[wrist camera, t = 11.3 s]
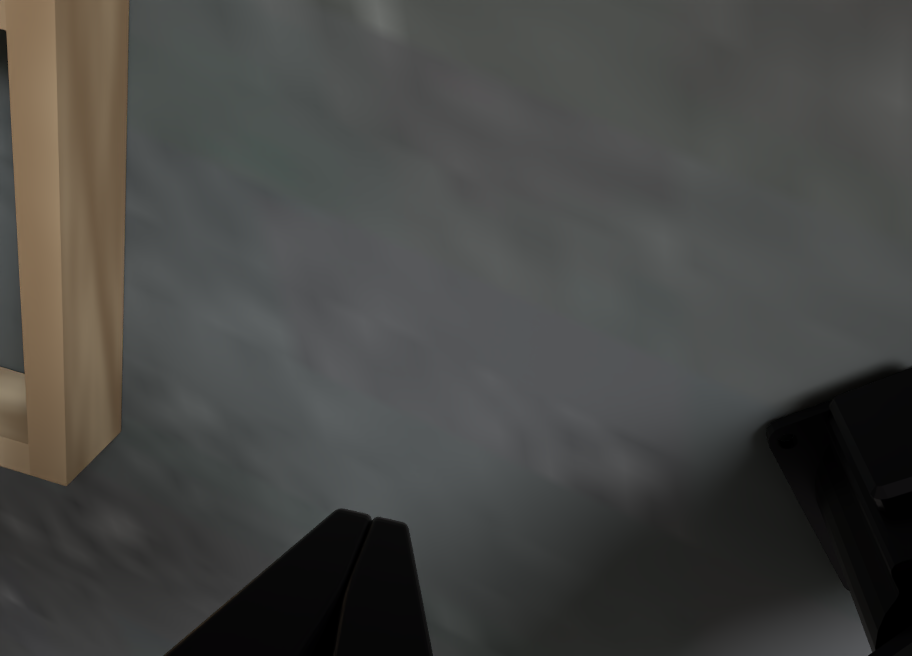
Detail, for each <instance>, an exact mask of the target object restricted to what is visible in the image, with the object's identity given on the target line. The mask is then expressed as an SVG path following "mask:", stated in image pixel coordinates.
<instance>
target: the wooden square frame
mask: <svg viewBox="0 0 912 656" xmlns="http://www.w3.org/2000/svg"><path fill="white" fill-rule="evenodd" d="M0 29H3V30H6V33H7V51H8V70H9V89H10V108H11V126H12V145H13V164H14V182H15V201H16V220H17V239H18V257H19V276H20V295H21V314H22V332H23V351H24V370H25V374H23V373H20V372H16V371H13V370H10V369H6V368H3V367H0V466H2V467H5V468H9V469H12V470H15V471H18V472H22V473H25V474H28V475H31V476H35V477H38V478H41V479H44V480H48V481H51V482H54V483H57V484H61V485H64V486H67V485H68V484H69V483H70V482H71V481H72V480H73V479H74V478H75V477H76V476H77V475H78V474H79V473H80V472H81V471H82V470H83V469H84V468H85V467H86V466H87V465H88V464H89V463H90V462H91V461H92V460H93V459H94V458H95V457H96V456H97V455H98V454H99V453H100V452H101V451H102V450H103V449H104V448H105V447H106V446H107V445H108V444H109V443H110V442H111V441H112V440H113V439H114V438H115V437H116V436H117V435H118V434H119V433H120V432H121V404H122V350H123V297H124V244H125V190H126V137H127V84H128V31H129V0H0Z"/></svg>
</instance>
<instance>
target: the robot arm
mask: <svg viewBox="0 0 912 656" xmlns="http://www.w3.org/2000/svg"><path fill="white" fill-rule="evenodd" d="M784 434H792V435H794V436H793V438H791V439H790V440H787V441H781V440H778V439H779V438H780V437H781V436H782V435H784ZM766 437H767V440H768V444H769V447H770V449H771V451H772V453H773V455H774V457H775V458H776V460H777V462H778V464H779V466H780V468H781V470H782V471H783V473H784V475H785V477H786V479H787V481H788V483H789V485H790V486H791V488H792V490H793V492H794V494H795V496H796V498H797V500H798V501H799V503H800V505H801V507H802V509H803V511H804V513H805V515H806V516H807V518H808V520H809V522H810V524H811V526H812V528H813V529H814V531H815V533H816V535H817V537H818V539H819V541H820V543H821V544H822V546H823V548H824V550H825V552H826V554H827V556H828V558H829V559H830V561H831V563H832V565H833V567H834V569H835V571H836V572H837V574H838V576H839V578H840V580H841V582H842V584H843V586H844V587H845V588H846V589H847V590H849V591H850V593H851V596H852V598H853V601H854V604H855V606H856V609H857V612H858V614H859V617H860V620H861V623H862V625H863V628H864V631H865V633H866V636H867V639H868V642H869V644H870V647H871V650H872V652H873V653H871V654H870V655H868V656H912V368H911V369H908V370H905V371H902V372H900V373H897V374H894V375H892V376H889V377H886V378H884V379H881V380H878V381H875V382H873V383H870V384H867V385H865V386H862V387H859V388H856V389H854V390H851V391H848V392H846V393H843V394H840V395H838V396H836V397H834V399H833V400H830V401H827V402H825V403H822V404H819V405H816V406H814V407H811V408H808V409H806V410H803V411H800V412H797V413H795V414H792V415H789V416H787V417H784V418H781V419H778V420H776V421H775V422H773V423H771V424H770V426H769V427H768V428H767V432H766ZM164 656H433V653H432V648H431V642H430V637H429V632H428V627H427V622H426V616H425V611H424V606H423V601H422V595H421V590H420V585H419V580H418V574H417V569H416V564H415V559H414V554H413V548H412V543H411V538H410V533H409V528H408V526H407V525H406V524H405V523H403V522H400V521H395V520H391V519H387V518H382V517H376V518H374V519H373V520H371V517H370V516H369V515H368V514H365V513H360V512H356V511H352V510H347V509H337V510H335V511H334V512H333V513H332V514H330V515H329V516H328V517H327V518H326V519H324V520H323V521H322V522H321V523H320V524H319V525H317V526H316V527H315V528H314V529H313V530H311V531H310V532H309V533H308V534H307V535H306V536H304V537H303V538H302V539H301V540H300V541H298V542H297V543H296V544H295V545H294V546H293V547H291V548H290V549H289V550H288V551H287V552H285V553H284V554H283V555H282V556H281V557H279V558H278V559H277V560H276V561H275V562H274V563H272V564H271V565H270V566H269V567H268V568H266V569H265V570H264V571H263V572H262V573H261V574H259V575H258V576H257V577H256V578H255V579H253V580H252V581H251V582H250V583H249V584H248V585H246V586H245V587H244V588H243V589H242V590H240V591H239V592H238V593H237V594H236V595H235V596H233V597H232V598H231V599H230V600H229V601H227V602H226V603H225V604H224V605H223V606H222V607H220V608H219V609H218V610H217V611H216V612H214V613H213V614H212V615H211V616H210V617H209V618H207V619H206V620H205V621H204V622H203V623H201V624H200V625H199V626H198V627H197V628H195V629H194V630H193V631H192V632H191V633H190V634H188V635H187V636H186V637H185V638H184V639H182V640H181V641H180V642H179V643H178V644H177V645H175V646H174V647H173V648H172V649H171V650H169V651H168V652H167V653H166V654H165V655H164Z"/></svg>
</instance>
